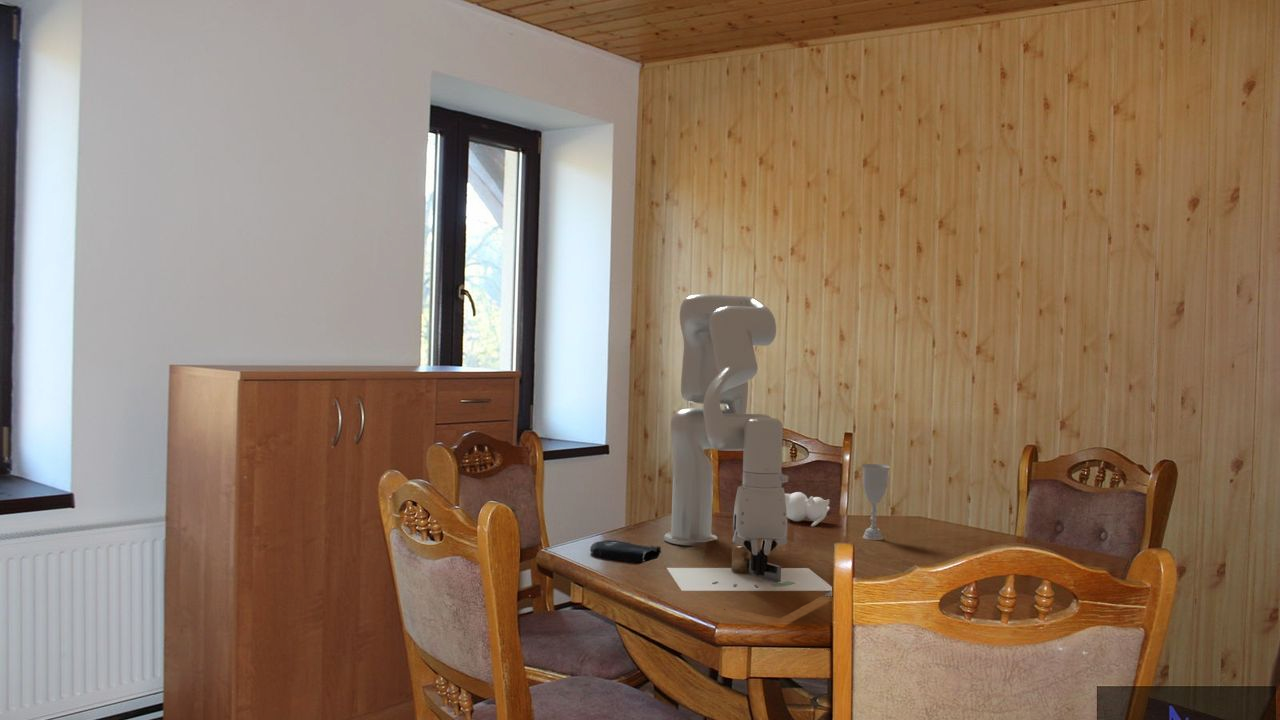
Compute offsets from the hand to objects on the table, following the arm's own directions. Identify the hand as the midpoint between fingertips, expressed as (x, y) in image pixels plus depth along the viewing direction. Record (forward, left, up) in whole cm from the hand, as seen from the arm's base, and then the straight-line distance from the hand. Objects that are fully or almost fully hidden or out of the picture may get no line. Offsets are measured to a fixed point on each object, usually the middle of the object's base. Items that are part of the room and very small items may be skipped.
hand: (758, 573), depth 197 cm
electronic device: (-27, -24, -3) cm, 36 cm away
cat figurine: (-68, +30, -3) cm, 74 cm away
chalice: (-48, +41, -3) cm, 64 cm away
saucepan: (-4, +1, -1) cm, 4 cm away
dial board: (-2, -2, -3) cm, 4 cm away
